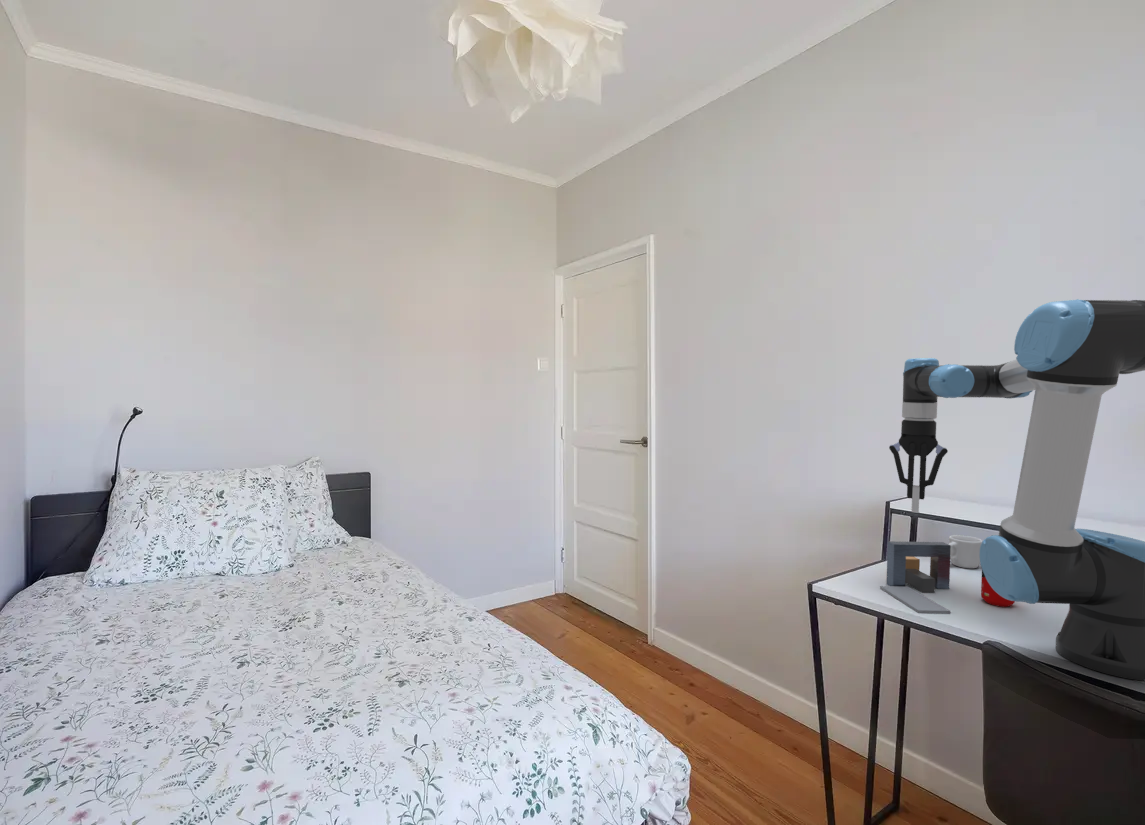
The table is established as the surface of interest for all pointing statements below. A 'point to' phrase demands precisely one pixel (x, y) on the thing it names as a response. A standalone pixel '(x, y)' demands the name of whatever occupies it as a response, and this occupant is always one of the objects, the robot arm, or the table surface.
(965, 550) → the cup
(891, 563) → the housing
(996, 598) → the beverage can
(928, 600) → the mat
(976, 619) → the table surface
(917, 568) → the plug
